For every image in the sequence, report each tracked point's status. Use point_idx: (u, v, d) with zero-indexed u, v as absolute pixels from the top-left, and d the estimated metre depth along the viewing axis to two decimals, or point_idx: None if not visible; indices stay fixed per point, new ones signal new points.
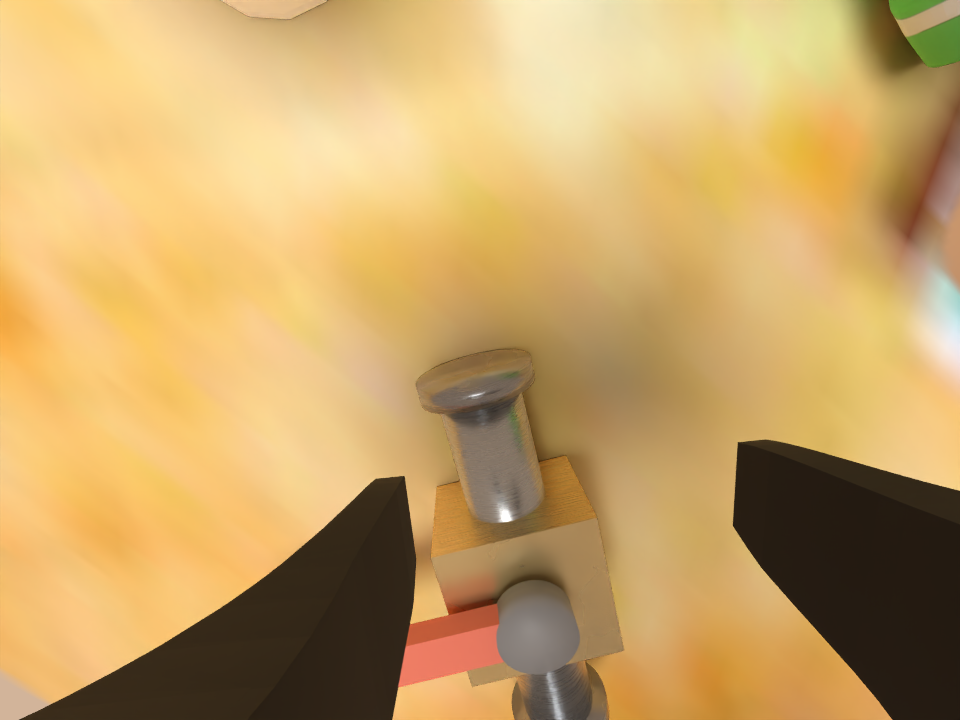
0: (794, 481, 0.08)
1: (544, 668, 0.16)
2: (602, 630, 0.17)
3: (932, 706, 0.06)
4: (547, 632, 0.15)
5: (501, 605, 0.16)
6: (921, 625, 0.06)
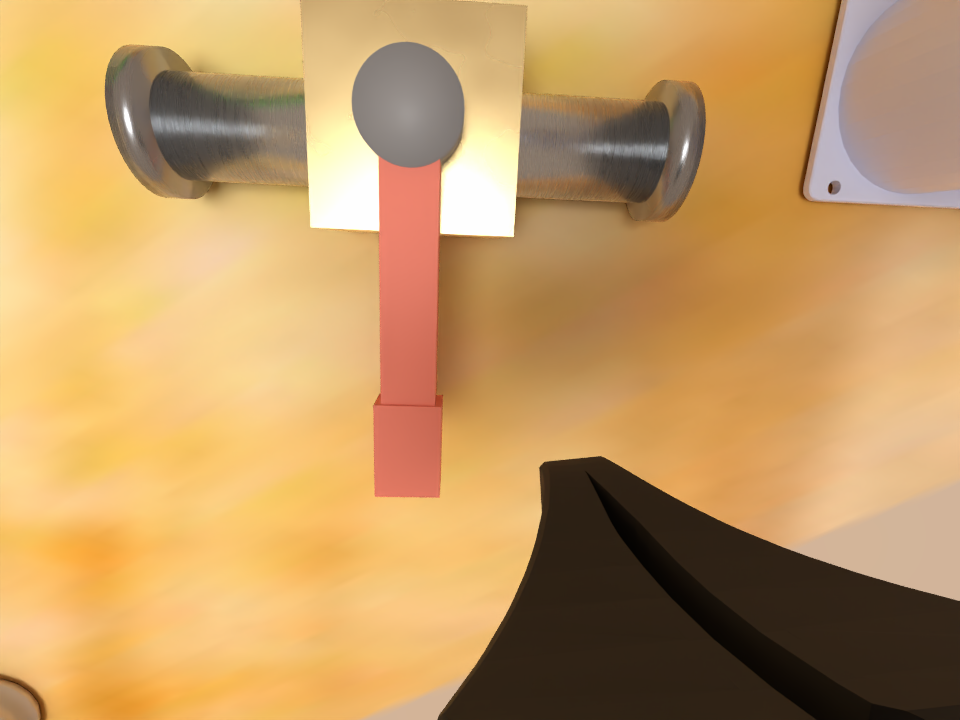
0: None
1: (456, 111, 0.11)
2: (482, 30, 0.12)
3: None
4: (398, 89, 0.11)
5: None
6: None
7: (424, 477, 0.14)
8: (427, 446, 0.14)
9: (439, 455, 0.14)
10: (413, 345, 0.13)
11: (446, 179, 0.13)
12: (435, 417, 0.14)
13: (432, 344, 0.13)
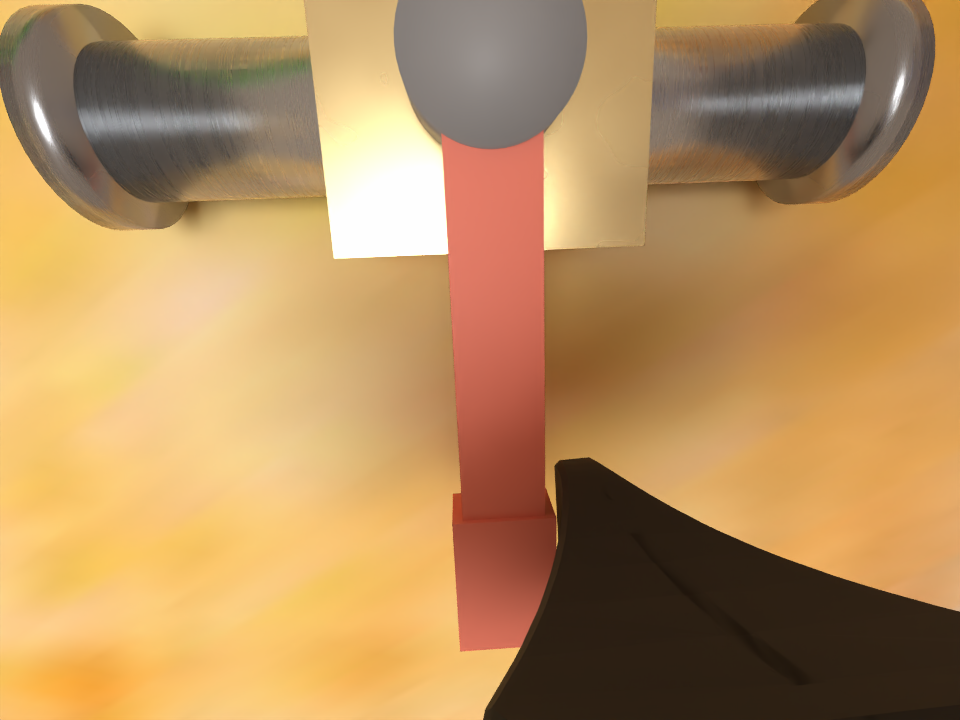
0: None
1: (572, 43, 0.07)
2: None
3: None
4: (472, 12, 0.06)
5: (429, 129, 0.08)
6: None
7: None
8: (536, 575, 0.09)
9: None
10: (509, 430, 0.08)
11: None
12: (547, 533, 0.09)
13: (539, 426, 0.08)
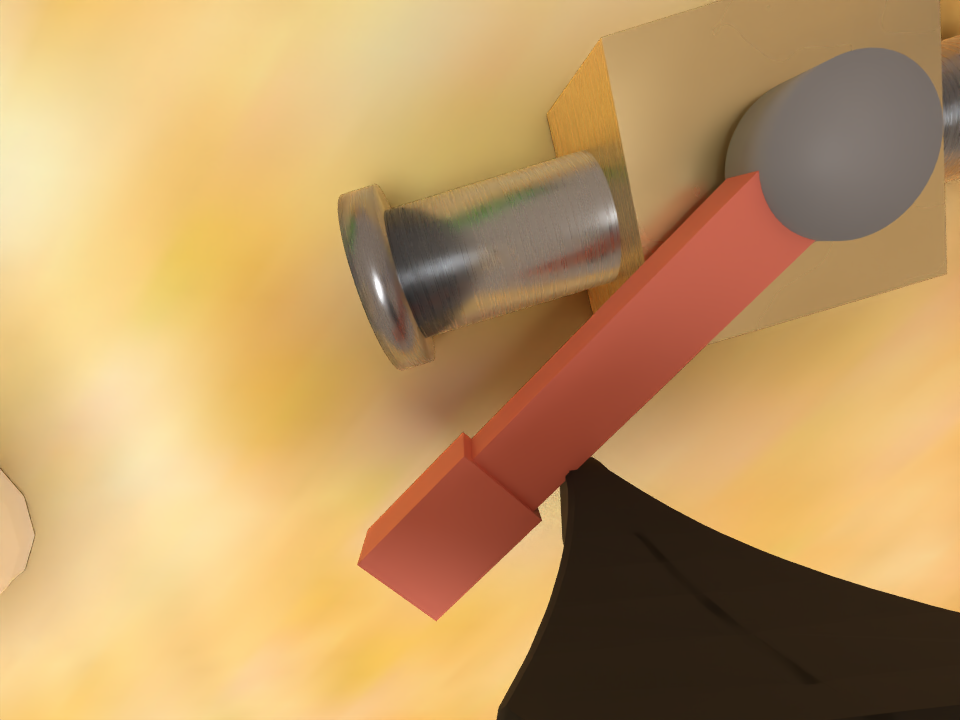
0: None
1: (893, 206, 0.07)
2: None
3: None
4: (865, 118, 0.07)
5: (738, 158, 0.08)
6: None
7: (441, 586, 0.09)
8: (480, 553, 0.09)
9: (483, 572, 0.09)
10: (578, 423, 0.08)
11: None
12: (522, 526, 0.09)
13: (601, 440, 0.08)
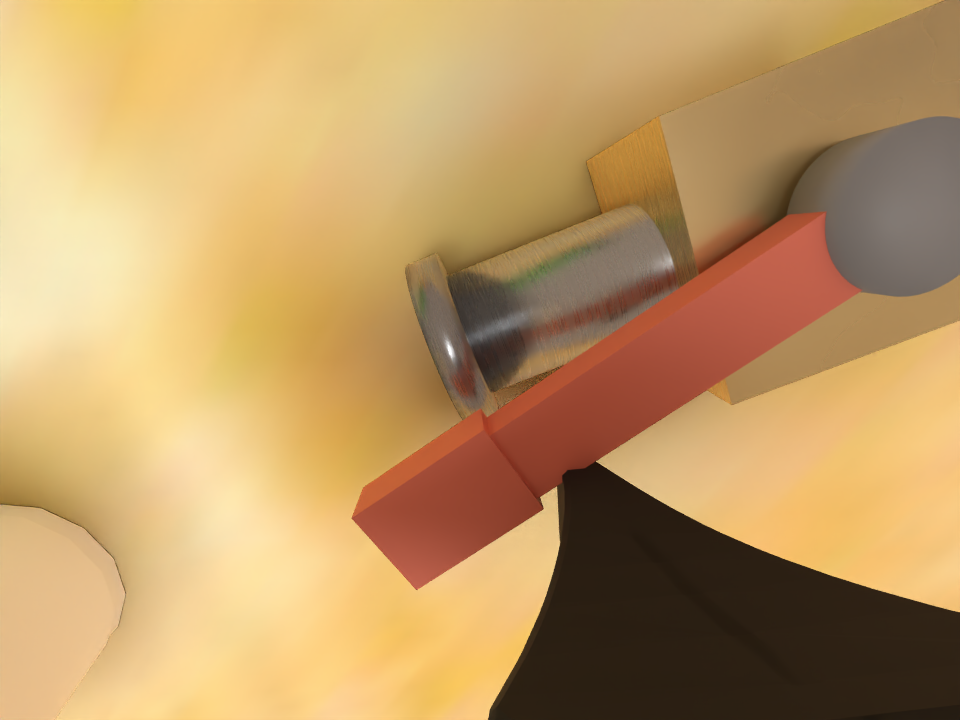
0: None
1: (942, 272, 0.08)
2: (922, 50, 0.08)
3: None
4: (936, 183, 0.07)
5: (806, 197, 0.08)
6: None
7: (430, 555, 0.09)
8: (476, 529, 0.09)
9: (474, 549, 0.09)
10: (600, 420, 0.08)
11: None
12: (523, 511, 0.09)
13: (618, 441, 0.08)
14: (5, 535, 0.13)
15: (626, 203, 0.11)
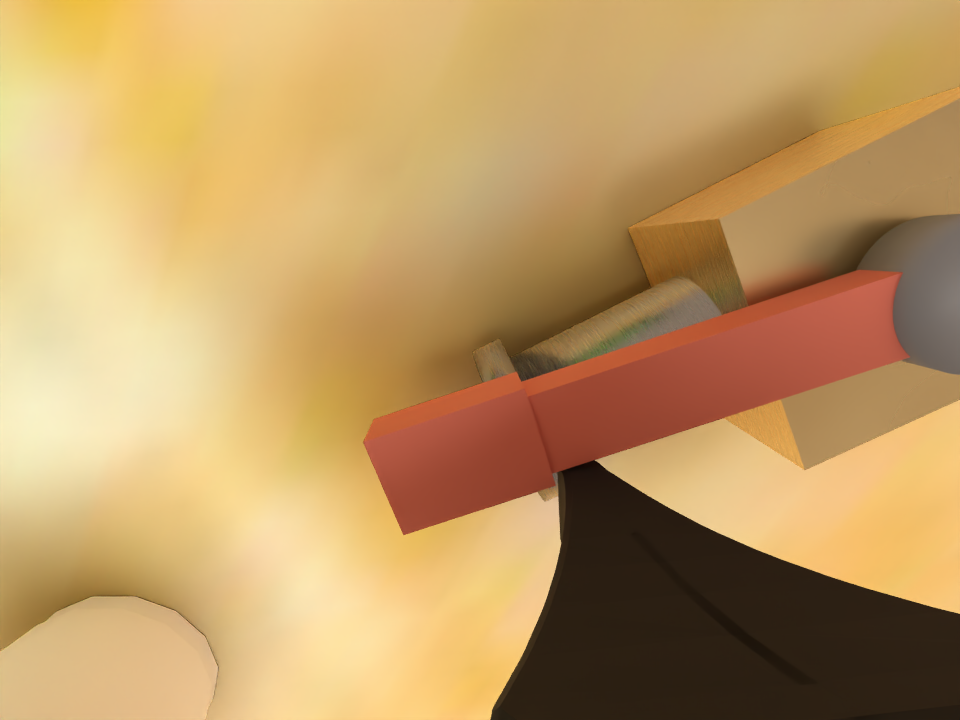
0: None
1: None
2: None
3: None
4: None
5: (883, 256, 0.08)
6: None
7: (429, 502, 0.08)
8: (484, 488, 0.08)
9: (473, 508, 0.09)
10: (637, 412, 0.08)
11: None
12: (535, 482, 0.08)
13: (647, 437, 0.08)
14: (111, 630, 0.14)
15: (677, 275, 0.12)
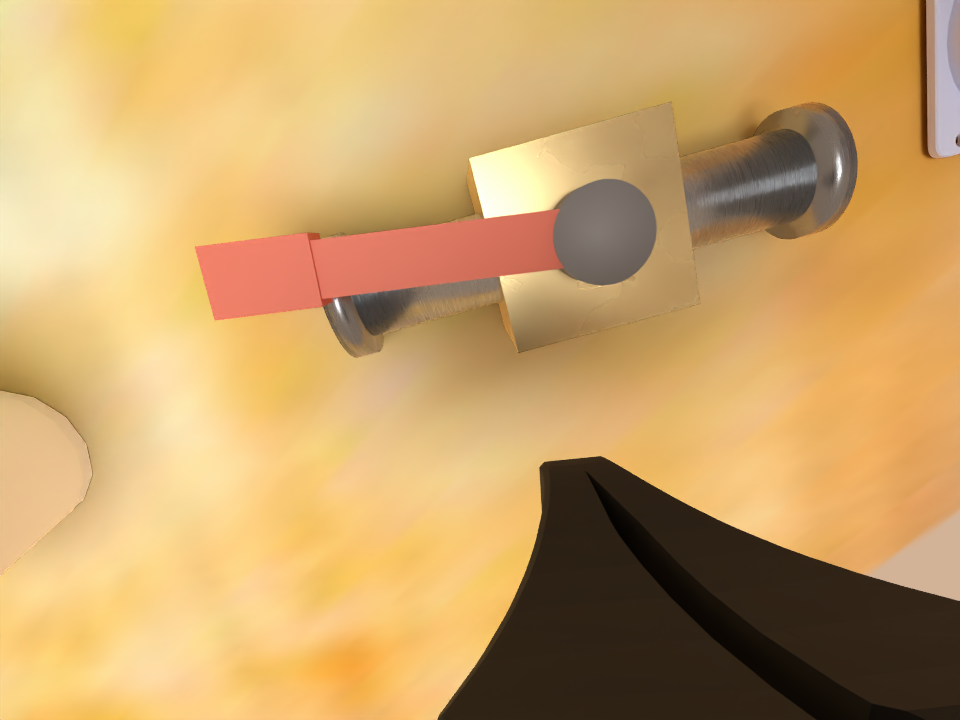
0: None
1: (606, 277, 0.13)
2: (635, 136, 0.13)
3: None
4: (618, 222, 0.12)
5: (561, 201, 0.13)
6: None
7: (235, 300, 0.13)
8: (273, 298, 0.13)
9: (266, 312, 0.13)
10: (382, 267, 0.13)
11: None
12: (309, 302, 0.13)
13: (388, 286, 0.13)
14: (7, 409, 0.18)
15: (477, 213, 0.16)
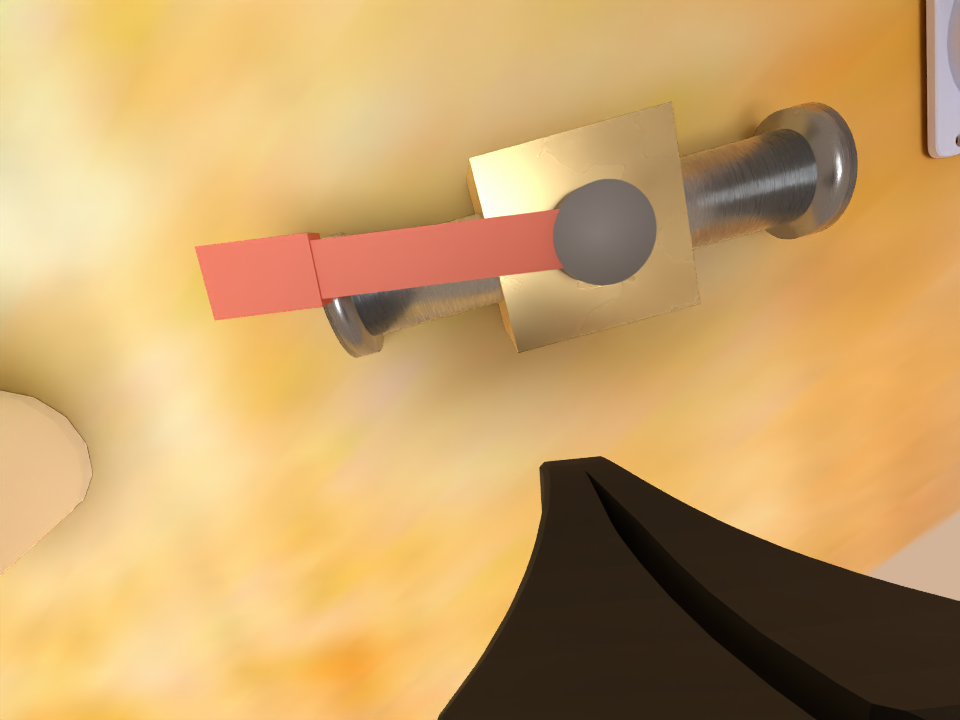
0: None
1: (606, 277, 0.13)
2: (635, 136, 0.13)
3: None
4: (618, 222, 0.12)
5: (561, 201, 0.13)
6: None
7: (235, 300, 0.13)
8: (273, 298, 0.13)
9: (266, 312, 0.13)
10: (382, 267, 0.13)
11: None
12: (309, 302, 0.13)
13: (388, 286, 0.13)
14: (7, 409, 0.18)
15: (477, 213, 0.16)
